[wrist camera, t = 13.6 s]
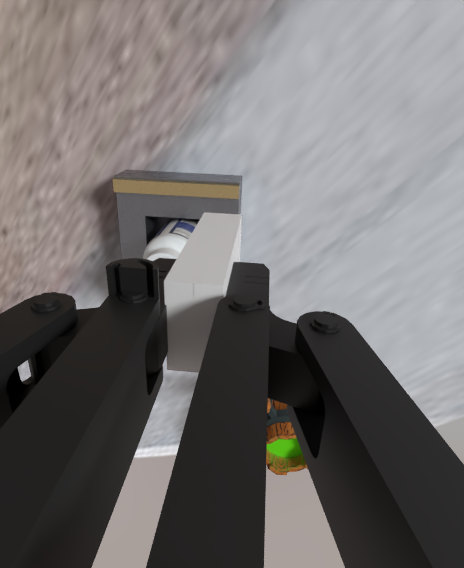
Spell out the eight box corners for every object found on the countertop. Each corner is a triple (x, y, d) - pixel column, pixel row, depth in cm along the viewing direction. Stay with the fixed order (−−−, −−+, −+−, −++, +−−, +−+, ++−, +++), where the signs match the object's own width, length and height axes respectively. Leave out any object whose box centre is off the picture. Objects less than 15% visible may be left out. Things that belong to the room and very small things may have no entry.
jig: (126, 169, 42) (112, 177, 38) (242, 175, 41) (239, 183, 37) (135, 291, 48) (124, 307, 44) (236, 298, 47) (233, 316, 43)
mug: (336, 405, 52) (352, 482, 42) (264, 426, 55) (261, 504, 45) (299, 324, 48) (306, 388, 37) (222, 351, 50) (208, 418, 40)
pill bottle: (171, 267, 46) (146, 307, 37) (154, 222, 44) (123, 254, 35) (216, 255, 45) (202, 294, 36) (201, 209, 43) (181, 238, 34)
